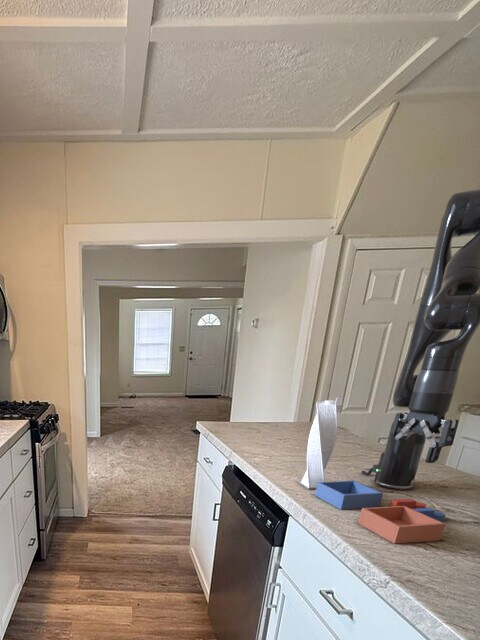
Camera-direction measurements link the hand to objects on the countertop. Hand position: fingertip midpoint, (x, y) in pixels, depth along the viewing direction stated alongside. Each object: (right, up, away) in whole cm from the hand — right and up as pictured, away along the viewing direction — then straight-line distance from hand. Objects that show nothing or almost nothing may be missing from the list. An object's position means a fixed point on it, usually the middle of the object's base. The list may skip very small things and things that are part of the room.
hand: (413, 458), depth 99 cm
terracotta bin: (-7, -18, -4) cm, 20 cm away
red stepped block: (+5, -13, +9) cm, 16 cm away
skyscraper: (-10, -5, +28) cm, 30 cm away
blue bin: (-7, -10, +15) cm, 20 cm away
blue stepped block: (+4, -15, +3) cm, 16 cm away
